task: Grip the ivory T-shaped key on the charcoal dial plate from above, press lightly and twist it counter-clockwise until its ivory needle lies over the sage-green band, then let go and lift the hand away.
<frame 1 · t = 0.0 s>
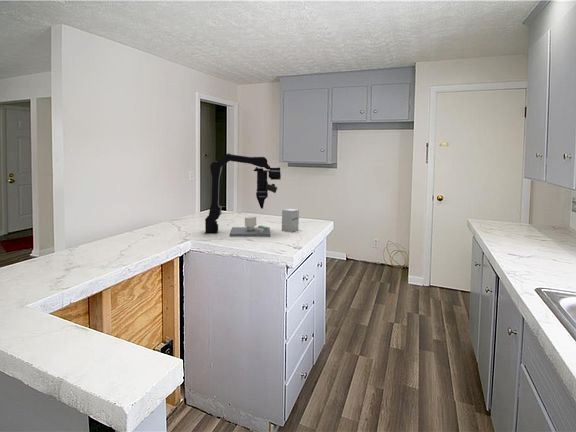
hand: (261, 207, 207), 15 cm above the counter, tool pointing down, fingers open, 9 cm apart
supplement box: (290, 230, 217), on the counter
tuning peg: (255, 224, 205), point 5 cm above the counter, hinge at -45.0°
dial plate: (250, 233, 208), on the counter
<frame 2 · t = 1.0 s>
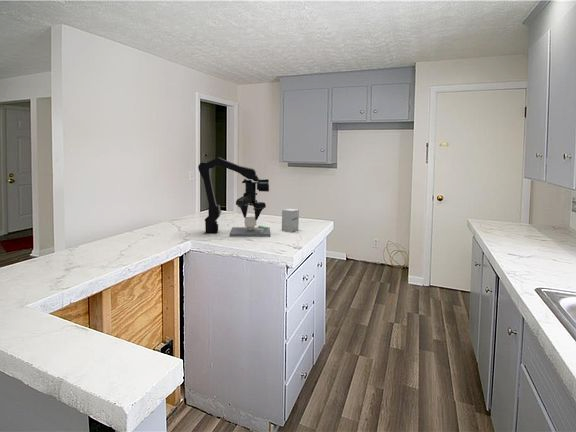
hand: (250, 218, 207), 8 cm above the counter, tool pointing down, fingers open, 9 cm apart
nothing on the counter moved.
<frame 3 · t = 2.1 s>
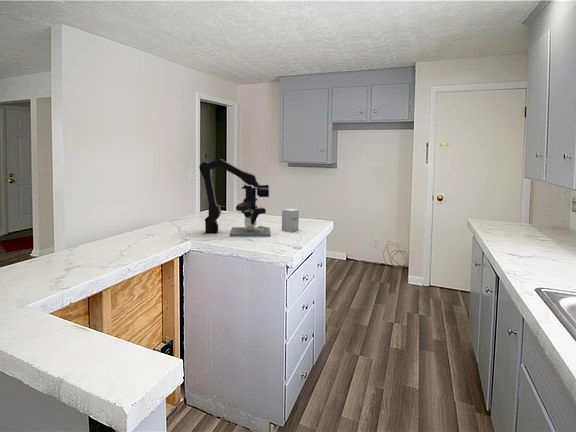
hand: (250, 224, 207), 5 cm above the counter, tool pointing down, fingers closed on tuning peg, 3 cm apart
tuning peg: (255, 224, 205), point 5 cm above the counter, hinge at -45.0°, touching gripper
everything else where it was.
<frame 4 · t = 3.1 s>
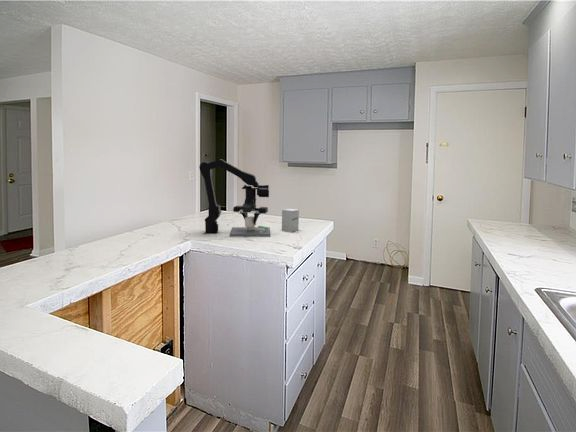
hand: (250, 224, 207), 5 cm above the counter, tool pointing down, fingers closed on tuning peg, 4 cm apart
tuning peg: (255, 224, 205), point 5 cm above the counter, hinge at -39.6°, touching gripper
everything else where it was.
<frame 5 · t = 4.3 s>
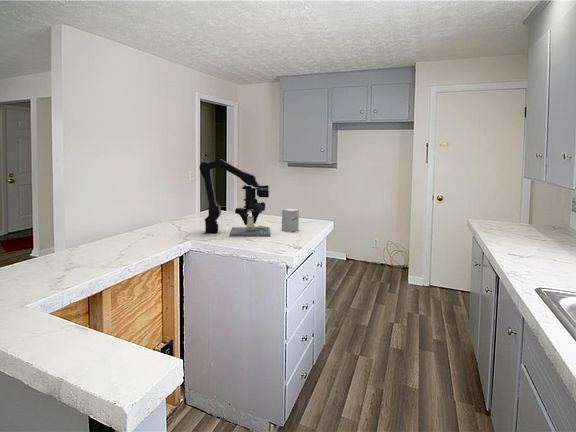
hand: (250, 224, 208), 5 cm above the counter, tool pointing down, fingers closed on tuning peg, 6 cm apart
tuning peg: (257, 223, 207), point 5 cm above the counter, hinge at -5.3°, touching gripper
everything else where it was.
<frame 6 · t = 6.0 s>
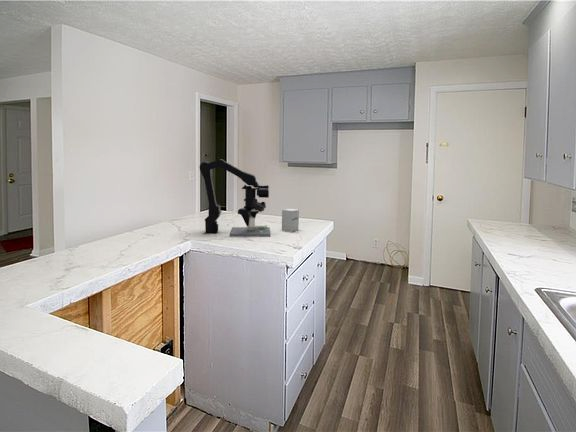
hand: (250, 224, 208), 5 cm above the counter, tool pointing down, fingers closed on tuning peg, 6 cm apart
tuning peg: (257, 223, 209), point 5 cm above the counter, hinge at 20.1°, touching gripper
everything else where it was.
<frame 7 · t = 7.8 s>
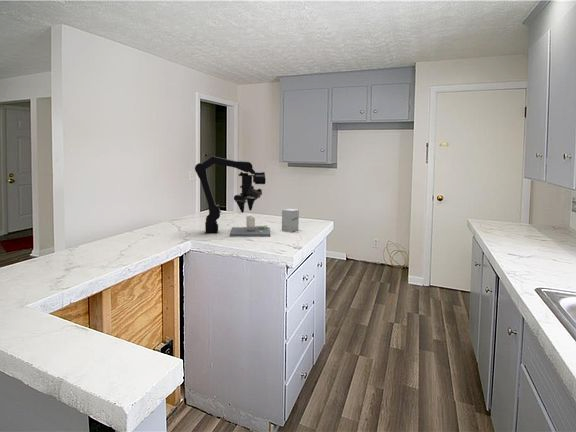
hand: (246, 211, 209), 12 cm above the counter, tool pointing down, fingers open, 9 cm apart
tuning peg: (257, 223, 209), point 5 cm above the counter, hinge at 19.9°
everything else where it was.
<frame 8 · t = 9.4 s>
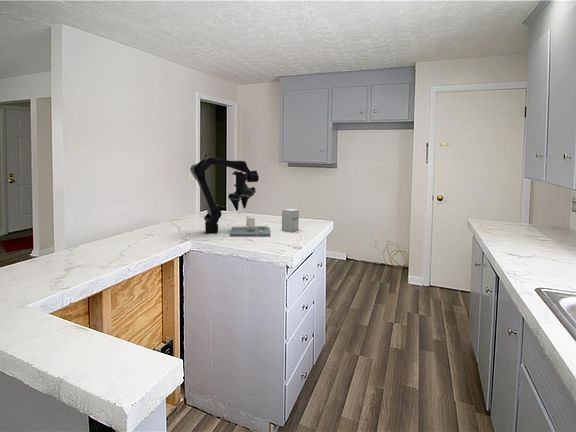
hand: (240, 209, 215), 12 cm above the counter, tool pointing down, fingers open, 9 cm apart
nothing on the counter moved.
at the end: tuning peg at +20° (first picture: -45°); the gripper is holding nothing; supplement box moved 0.2 cm from its start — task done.
